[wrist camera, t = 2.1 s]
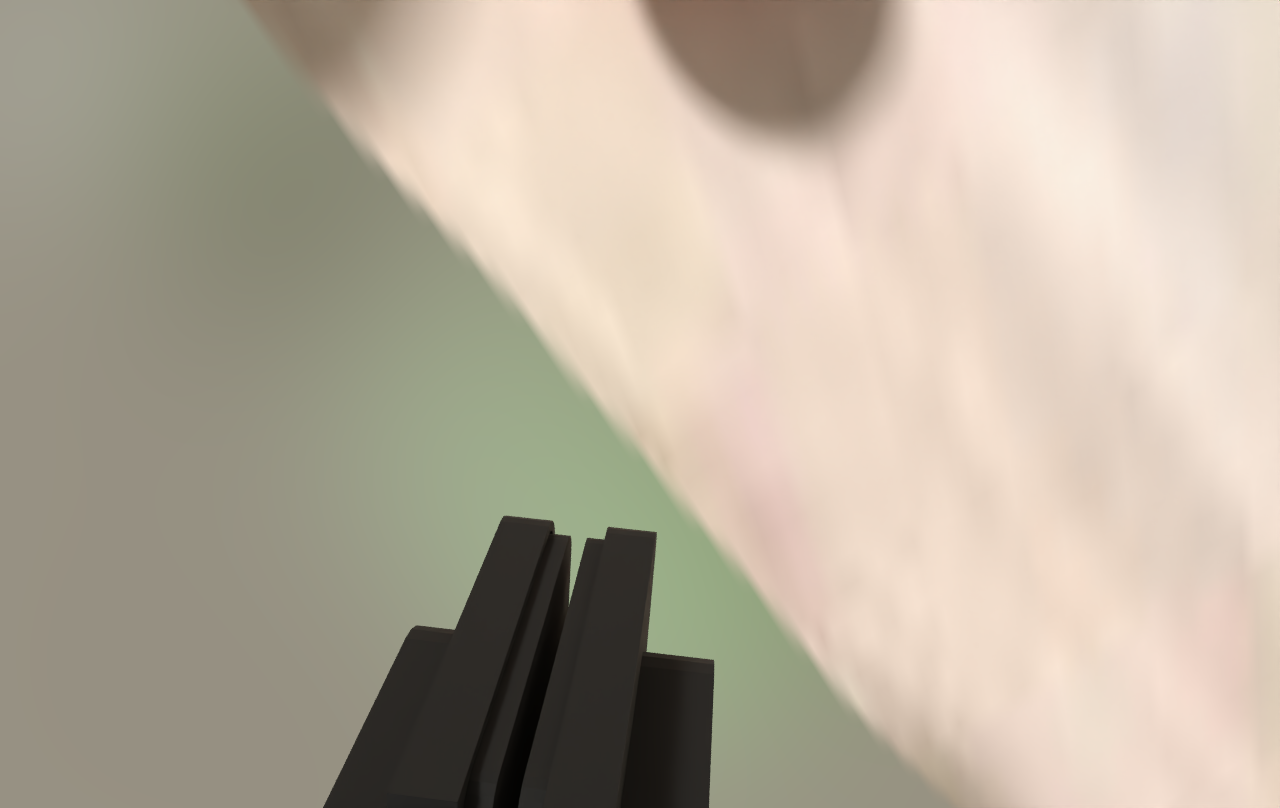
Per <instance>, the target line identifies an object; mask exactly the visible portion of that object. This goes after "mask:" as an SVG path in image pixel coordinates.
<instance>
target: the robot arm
mask: <svg viewBox="0 0 1280 808" xmlns="http://www.w3.org/2000/svg"><path fill="white" fill-rule="evenodd" d="M656 537H657V532H650V531H641V530H632V529H622V528H614V527H608V528H607V532H606V536H605V540H602V539H593V538H587V540H586V543H585V547H584V551H583V555H582V559H581V562H580V566H579V570H578V574H577V577H576V582H575V585H574V589H573V593H572V596H571V600H570V604H569V585H570V565H571V536H566V535H557V534H555V528H554V522H553V521H550V520H540V519H531V518H522V517H512V516H503V518H502V520H501V522H500V524H499V526H498V529H497V531H496V533H495V536H494V538H493V541H492V543H491V545H490V548H489V550H488V553H487V555H486V557H485V560H484V562H483V564H482V567H481V569H480V571H479V574H478V576H477V579H476V581H475V583H474V586H473V588H472V591H471V593H470V595H469V598H468V600H467V602H466V605H465V607H464V610H463V612H462V615H461V617H460V619H459V622H458V624H457V626H456V629H455V630H452V629H443V628H434V627H426V626H415V627H414V628H412V629H411V630H410V632H409V634H408V635H407V637H406V638H405V640H404V643H403V645H402V647H401V649H400V651H399V653H398V655H397V657H396V659H395V661H394V663H393V665H392V667H391V669H390V671H389V673H388V675H387V678H386V679H385V682H384V684H383V686H382V688H381V690H380V692H379V694H378V696H377V698H376V700H375V702H374V704H373V706H372V708H371V710H370V712H369V715H368V717H367V719H366V721H365V723H364V725H363V727H362V729H361V731H360V733H359V735H358V737H357V739H356V741H355V744H354V745H353V747H352V749H351V751H350V754H349V756H348V758H347V760H346V762H345V764H344V766H343V768H342V770H341V772H340V774H339V776H338V778H337V780H336V782H335V785H334V787H333V788H332V791H331V793H330V795H329V797H328V799H327V801H326V803H325V805H324V807H323V808H709V788H710V764H711V740H712V714H713V689H714V660H710V659H700V658H693V657H684V656H675V655H666V654H658V653H650V652H646V651H647V639H648V627H649V617H650V606H651V595H652V584H653V571H654V561H655V549H656Z"/></svg>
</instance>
